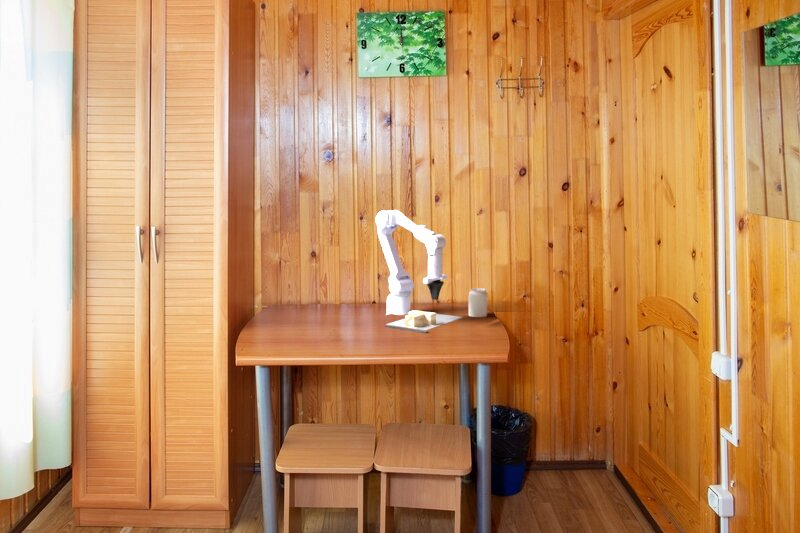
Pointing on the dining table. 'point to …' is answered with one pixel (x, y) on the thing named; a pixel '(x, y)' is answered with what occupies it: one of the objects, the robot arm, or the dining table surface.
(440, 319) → the board
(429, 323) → the block
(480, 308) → the can
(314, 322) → the dining table surface
